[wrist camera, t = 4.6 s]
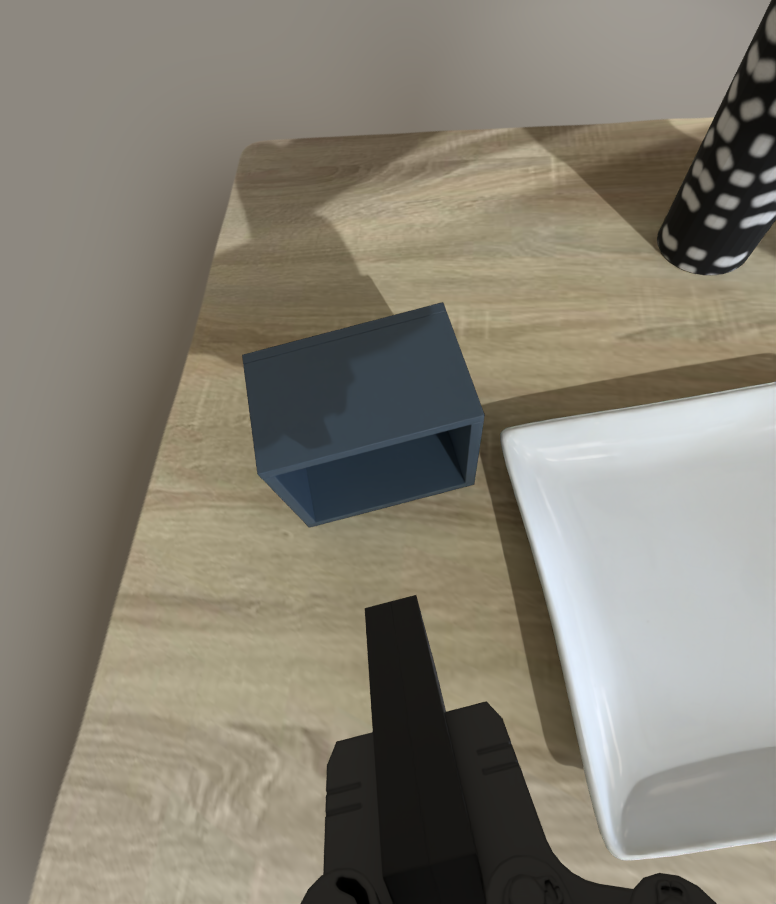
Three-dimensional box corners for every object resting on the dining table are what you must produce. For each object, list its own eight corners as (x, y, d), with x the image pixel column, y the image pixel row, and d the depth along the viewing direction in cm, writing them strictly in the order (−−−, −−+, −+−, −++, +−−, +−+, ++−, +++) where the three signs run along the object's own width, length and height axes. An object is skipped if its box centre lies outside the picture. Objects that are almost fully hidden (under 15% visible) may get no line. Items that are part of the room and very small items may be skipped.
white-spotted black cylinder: (731, 287, 45) (926, 28, 27) (642, 255, 47) (765, -2, 29) (763, 229, 47) (962, -47, 29) (677, 201, 50) (810, -68, 32)
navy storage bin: (475, 484, 40) (486, 414, 29) (307, 528, 40) (255, 475, 29) (445, 393, 44) (444, 301, 33) (291, 433, 44) (240, 354, 33)
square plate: (823, 390, 40) (859, 363, 36) (1058, 787, 28) (1145, 804, 25) (493, 444, 41) (497, 423, 37) (591, 845, 30) (611, 869, 26)
